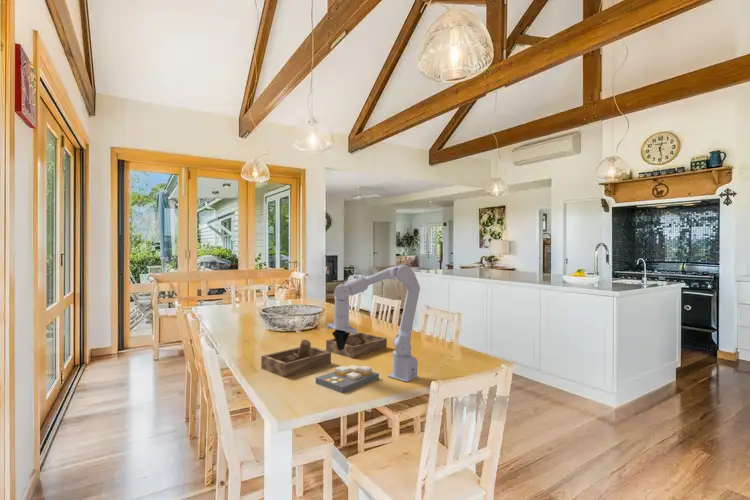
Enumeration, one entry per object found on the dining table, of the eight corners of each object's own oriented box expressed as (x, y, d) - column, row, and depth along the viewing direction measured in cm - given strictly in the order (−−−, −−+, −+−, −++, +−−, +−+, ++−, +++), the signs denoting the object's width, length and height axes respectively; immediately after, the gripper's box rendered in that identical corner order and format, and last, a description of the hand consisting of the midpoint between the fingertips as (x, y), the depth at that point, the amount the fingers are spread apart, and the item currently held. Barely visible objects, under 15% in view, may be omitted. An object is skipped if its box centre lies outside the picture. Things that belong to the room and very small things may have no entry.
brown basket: (355, 356, 184) (356, 341, 183) (343, 349, 193) (344, 335, 193) (387, 353, 193) (388, 338, 193) (375, 346, 203) (376, 333, 203)
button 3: (360, 373, 158) (360, 367, 158) (353, 375, 155) (353, 369, 155) (352, 370, 161) (352, 364, 161) (345, 373, 158) (345, 367, 158)
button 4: (349, 374, 154) (349, 368, 153) (342, 377, 150) (342, 370, 150) (342, 372, 156) (342, 365, 156) (334, 374, 153) (335, 368, 153)
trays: (386, 348, 198) (386, 338, 198) (288, 378, 152) (288, 365, 152) (359, 341, 210) (360, 332, 210) (261, 368, 164) (261, 356, 164)
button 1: (371, 374, 154) (371, 367, 154) (364, 376, 151) (364, 370, 151) (363, 371, 157) (364, 365, 157) (357, 374, 154) (357, 367, 154)
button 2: (361, 380, 150) (361, 374, 150) (353, 383, 147) (353, 376, 147) (353, 378, 152) (353, 371, 152) (346, 380, 149) (346, 374, 149)
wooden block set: (289, 379, 159) (295, 358, 156) (276, 366, 163) (282, 345, 160) (321, 366, 173) (327, 346, 170) (308, 355, 177) (314, 335, 174)
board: (378, 378, 154) (378, 372, 154) (342, 393, 139) (342, 386, 139) (352, 370, 164) (352, 365, 163) (315, 383, 148) (315, 377, 148)
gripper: (321, 313, 158) (320, 347, 158) (347, 319, 148) (347, 355, 149) (334, 311, 163) (333, 344, 164) (360, 316, 154) (359, 351, 154)
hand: (340, 349), depth 157 cm, fingers closed
